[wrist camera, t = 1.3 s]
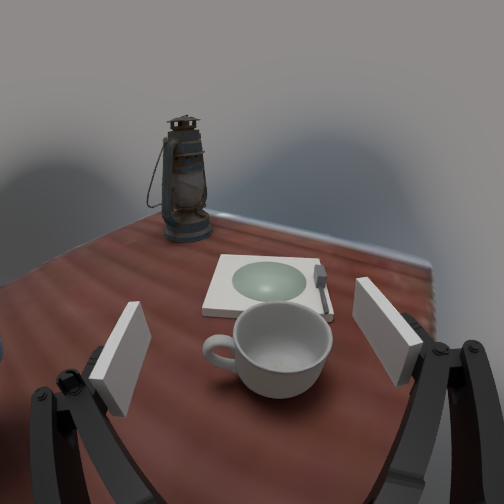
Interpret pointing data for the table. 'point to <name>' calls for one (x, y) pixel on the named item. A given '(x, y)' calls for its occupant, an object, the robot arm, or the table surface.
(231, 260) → the record player
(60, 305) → the table surface
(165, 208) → the lantern
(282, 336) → the teacup
